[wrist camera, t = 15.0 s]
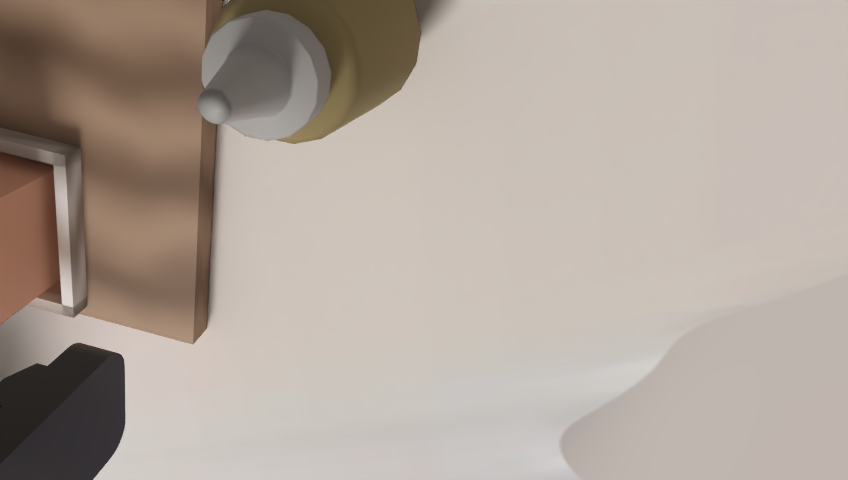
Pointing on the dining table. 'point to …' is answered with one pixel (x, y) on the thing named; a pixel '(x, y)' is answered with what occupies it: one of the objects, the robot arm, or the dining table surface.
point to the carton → (26, 233)
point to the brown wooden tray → (117, 152)
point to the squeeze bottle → (305, 64)
